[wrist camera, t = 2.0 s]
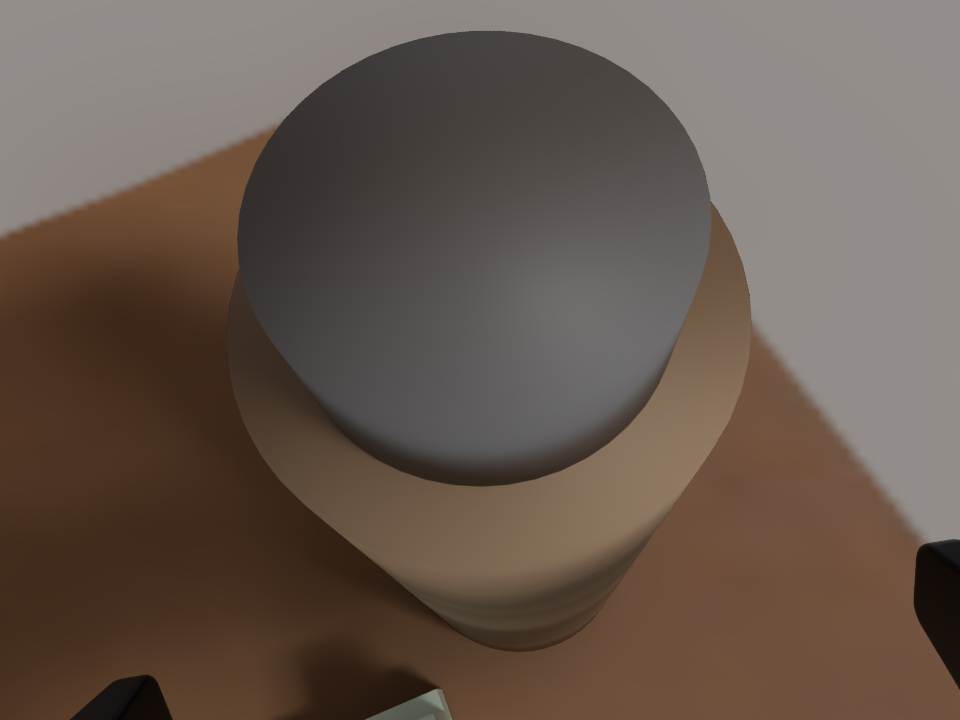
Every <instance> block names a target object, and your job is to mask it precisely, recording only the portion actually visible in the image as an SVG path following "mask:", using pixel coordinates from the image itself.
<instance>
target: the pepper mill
mask: <svg viewBox="0 0 960 720" xmlns="http://www.w3.org/2000/svg"><path fill="white" fill-rule="evenodd" d="M237 239H238V257H239V266H240V268H239V271H238V273H237V276H236V280H235V284H234V288H233V292H232V296H231V300H230V305H229V314H228V324H227V334H226V336H227V357H228V369H229V374H230V379H231V384H232V389H233V394H234V397H235V400H236V403H237V406H238V409H239V411H240V414H241V417H242V420H243V423H244V425H245V427H246V429H247V431H248V433H249V435H250V436H251V438H252V440H253V442H254V444H255V446H256V448H257V449H258V451H259V453H260V455H261V456H262V457H263V459H264V460H265V461H266V463H267V464H268V465H269V467H270V468H271V469H272V471H273V472H274V473H275V475H276V476H277V477H278V479H279V480H280V481H281V482H282V483H283V484H284V485H285V486H286V487H287V488H288V489H289V490H290V491H291V492H292V493H293V494H294V495H295V496H296V497H297V498H298V499H299V500H300V501H301V502H302V503H303V504H304V505H305V506H307V507H308V508H309V509H310V510H312V511H313V512H314V513H315V514H316V515H318V516H319V517H320V518H321V519H322V520H324V521H325V522H326V523H327V524H328V525H330V526H331V527H332V528H333V529H334V530H336V531H337V532H338V533H339V534H341V535H342V536H343V537H344V538H345V539H347V540H348V541H349V542H350V543H351V544H353V545H354V546H355V547H356V548H357V549H359V550H360V551H361V552H362V553H364V554H365V555H366V556H367V557H368V558H370V559H371V560H372V561H373V562H374V563H376V564H377V565H378V566H379V567H380V568H382V569H383V570H384V571H385V572H387V573H388V574H389V575H390V576H391V577H393V578H394V579H395V580H396V581H397V582H399V583H400V584H401V585H402V586H403V587H405V588H406V589H407V590H408V591H410V592H411V593H412V594H413V595H414V596H416V597H417V598H418V599H419V600H420V601H422V602H423V603H424V604H425V605H426V606H428V607H429V608H430V609H431V610H432V611H434V612H435V613H436V614H437V615H439V616H440V617H441V618H442V619H443V620H445V621H446V622H447V623H448V624H449V625H451V626H452V627H453V628H454V629H456V630H457V631H458V632H460V633H461V634H463V635H464V636H466V637H467V638H469V639H471V640H473V641H475V642H477V643H479V644H482V645H485V646H487V647H490V648H494V649H499V650H503V651H515V652H522V651H534V650H539V649H544V648H547V647H550V646H553V645H556V644H559V643H561V642H563V641H564V640H566V639H568V638H570V637H572V636H573V635H575V634H576V633H577V632H579V631H580V630H582V629H583V628H584V627H585V626H586V625H587V624H588V623H589V622H590V621H591V620H592V619H593V618H594V617H595V616H596V615H597V613H598V612H599V611H600V610H601V608H602V607H603V605H604V604H605V603H606V601H607V600H608V598H609V597H610V595H611V594H612V593H613V591H614V590H615V588H616V587H617V585H618V584H619V582H620V581H621V580H622V578H623V577H624V575H625V574H626V572H627V571H628V570H629V568H630V567H631V565H632V564H633V562H634V561H635V560H636V558H637V557H638V555H639V554H640V552H641V551H642V550H643V548H644V547H645V545H646V544H647V542H648V541H649V539H650V538H651V537H652V535H653V534H654V532H655V531H656V529H657V528H658V527H659V525H660V524H661V522H662V521H663V519H664V518H665V517H666V515H667V514H668V512H669V511H670V509H671V508H672V507H673V505H674V504H675V502H676V501H677V499H678V498H679V496H680V495H681V494H682V492H683V491H684V489H685V488H686V486H687V485H688V484H689V482H690V481H691V479H692V478H693V476H694V475H695V474H696V472H697V471H698V469H699V468H700V466H701V465H702V464H703V462H704V461H705V459H706V458H707V456H708V455H709V453H710V452H711V451H712V449H713V447H714V445H715V444H716V442H717V440H718V439H719V437H720V435H721V434H722V432H723V430H724V429H725V427H726V425H727V423H728V422H729V420H730V417H731V415H732V412H733V410H734V407H735V405H736V402H737V400H738V397H739V395H740V392H741V390H742V386H743V382H744V377H745V373H746V369H747V365H748V361H749V354H750V342H751V329H752V322H751V308H750V294H749V290H748V285H747V281H746V276H745V272H744V268H743V264H742V261H741V258H740V256H739V253H738V251H737V248H736V245H735V243H734V240H733V238H732V235H731V234H730V232H729V230H728V228H727V226H726V225H725V223H724V221H723V219H722V217H721V216H720V214H719V212H718V210H717V209H716V208H715V206H714V205H713V204H712V202H711V201H710V195H709V190H708V185H707V180H706V175H705V171H704V169H703V166H702V164H701V161H700V159H699V156H698V153H697V150H696V148H695V146H694V144H693V143H692V141H691V139H690V137H689V136H688V134H687V132H686V130H685V128H684V127H683V125H682V124H681V123H680V121H679V120H678V119H677V117H676V116H675V115H674V113H673V112H672V111H671V110H670V108H669V107H668V106H667V105H666V104H665V103H664V102H663V101H662V100H661V99H660V98H659V97H658V96H657V95H656V94H655V93H654V92H653V91H652V90H651V89H650V88H649V87H648V86H647V85H645V84H644V83H643V82H641V81H640V80H639V79H637V78H636V77H635V76H633V75H632V74H631V73H629V72H628V71H626V70H625V69H623V68H621V67H619V66H618V65H616V64H614V63H612V62H611V61H609V60H607V59H606V58H604V57H601V56H599V55H597V54H595V53H593V52H590V51H588V50H585V49H583V48H581V47H578V46H574V45H572V44H569V43H565V42H562V41H559V40H556V39H551V38H547V37H541V36H537V35H532V34H525V33H516V32H505V31H469V32H458V33H448V34H442V35H437V36H432V37H426V38H421V39H417V40H414V41H411V42H407V43H404V44H401V45H397V46H394V47H391V48H389V49H386V50H384V51H381V52H379V53H376V54H374V55H371V56H369V57H367V58H365V59H363V60H361V61H359V62H358V63H356V64H354V65H352V66H350V67H348V68H346V69H344V70H343V71H341V72H340V73H338V74H337V75H335V76H334V77H332V78H331V79H329V80H328V81H326V82H325V83H323V84H322V85H321V86H319V88H317V89H316V90H315V91H313V92H312V93H311V94H310V95H309V96H308V97H306V98H305V99H304V100H303V101H302V102H301V103H300V104H299V105H298V106H297V107H296V108H295V109H294V110H293V111H292V112H291V113H290V114H289V115H288V116H287V117H286V118H285V119H284V121H283V122H282V123H281V125H280V126H279V127H278V129H277V130H276V131H275V133H274V134H273V135H272V137H271V138H270V139H269V140H268V142H267V144H266V146H265V147H264V149H263V151H262V153H261V154H260V156H259V158H258V160H257V161H256V163H255V166H254V168H253V171H252V173H251V176H250V178H249V181H248V183H247V186H246V189H245V193H244V197H243V201H242V205H241V209H240V215H239V225H238V236H237Z"/></svg>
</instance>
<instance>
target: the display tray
mask: <svg viewBox="0 0 960 720" xmlns="http://www.w3.org/2000/svg"><path fill="white" fill-rule="evenodd" d="M365 720H452V718H451V715H450V712H449V709H448V706H447V703H446V700H445V697H444V694H443V691H442V689H435V690H433V691H430V692H428V693H426V694H423V695H421V696H419V697H416V698H414V699H412V700H409V701H407V702H405V703H402V704H400V705H398V706H395V707H393V708H391V709H389V710H386V711H384V712H382V713H379V714H377V715H375V716H372V717H370V718H368V719H365Z"/></svg>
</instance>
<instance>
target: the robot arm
mask: <svg viewBox="0 0 960 720" xmlns="http://www.w3.org/2000/svg"><path fill="white" fill-rule="evenodd" d="M914 608H915V612H916V615H917V618H918V620H919V622H920V624H921V626H922V628H923V629H924V631H925V633H926V634H927V636H928V638H929V639H930V641H931V643H932V644H933V646H934V648H935V649H936V651H937V653H938V654H939V656H940V658H941V659H942V661H943V663H944V664H945V666H946V668H947V669H948V671H949V673H950V674H951V676H952V678H953V679H954V681H955V683H956V684H957V686H958V688H959V689H960V540H956V539H951V540H945V541H938V542H932V543H927V544H924V545H922V546H921V547H920V548H919V550H918V552H917V556H916V569H915V585H914ZM70 720H173V719H172V717H171V714H170V712H169V709H168V707H167V704H166V702H165V699H164V697H163V694H162V692H161V689H160V687H159V685H158V683H157V681H156V679H155V678H154V677H152V676H150V675H140V676H134V677H129V678H123V679H119V680H116V681H114V682H112V683H111V684H110V685H109V686H107V687H106V688H105V689H104V690H103V691H102V692H101V693H100V694H98V695H97V696H96V697H95V698H94V699H93V700H92V701H90V702H89V703H88V704H87V705H86V706H85V707H84V708H83V709H81V710H80V711H79V712H78V713H77V714H76V715H75V716H73V717H72V718H71V719H70Z"/></svg>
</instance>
